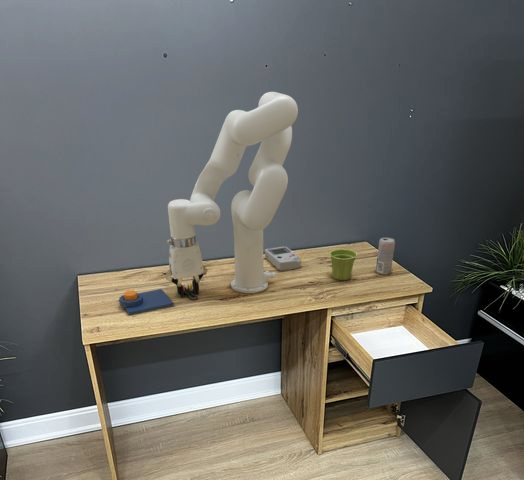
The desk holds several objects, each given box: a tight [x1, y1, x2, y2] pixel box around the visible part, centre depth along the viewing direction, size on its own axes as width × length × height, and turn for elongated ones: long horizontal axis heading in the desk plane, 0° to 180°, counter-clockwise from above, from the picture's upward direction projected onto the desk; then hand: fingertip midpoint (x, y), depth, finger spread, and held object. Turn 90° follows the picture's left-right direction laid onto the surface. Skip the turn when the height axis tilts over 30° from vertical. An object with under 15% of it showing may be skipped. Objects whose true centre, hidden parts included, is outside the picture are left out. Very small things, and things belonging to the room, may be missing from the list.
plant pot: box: [328, 248, 358, 281], centre depth 178 cm, size 9×9×9 cm
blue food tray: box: [118, 288, 174, 316], centre depth 163 cm, size 15×12×3 cm
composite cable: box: [182, 282, 198, 301], centre depth 168 cm, size 10×5×2 cm, turn 22°
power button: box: [123, 289, 138, 301], centre depth 160 cm, size 4×4×2 cm
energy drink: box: [375, 237, 396, 276], centre depth 181 cm, size 5×5×12 cm
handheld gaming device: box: [264, 246, 302, 272], centre depth 191 cm, size 9×15×4 cm, turn 22°
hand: (188, 294), depth 169 cm, fingers closed on composite cable, 4 cm apart
